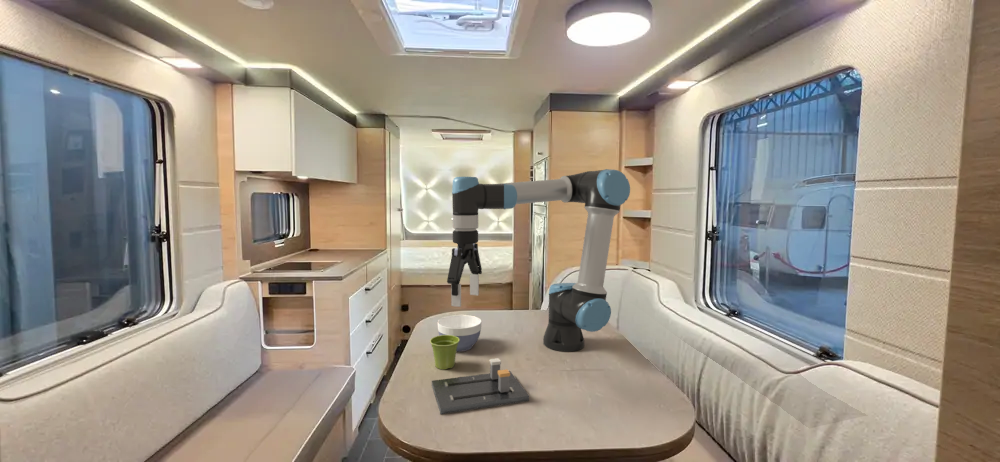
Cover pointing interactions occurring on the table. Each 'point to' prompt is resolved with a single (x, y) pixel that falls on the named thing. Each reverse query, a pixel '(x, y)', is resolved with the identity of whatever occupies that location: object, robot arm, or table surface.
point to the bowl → (461, 329)
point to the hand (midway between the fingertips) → (465, 300)
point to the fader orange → (503, 380)
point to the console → (475, 393)
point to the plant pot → (444, 350)
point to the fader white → (494, 368)
